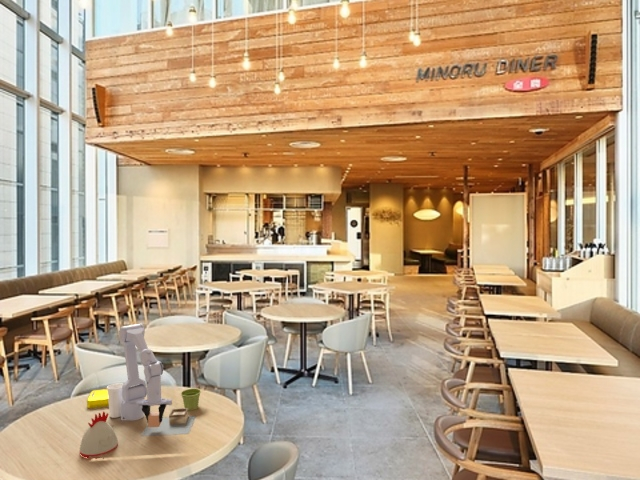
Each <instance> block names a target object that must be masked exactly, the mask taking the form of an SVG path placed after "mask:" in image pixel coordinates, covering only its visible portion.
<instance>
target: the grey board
mask: <svg viewBox="0 0 640 480" xmlns="http://www.w3.org/2000/svg"><path fill="white" fill-rule="evenodd" d="M196 417H197V416H196V415H188V418H187V421H186V423H182V424H169V416H167V417H165V416H163V418H162V422H161V424H160V426H159V427H148V424H147V425H146V427H145V429H144V430H143V431H142V433H141V435H140V437H153V436H171V435H173V436H174V435H175V436H176V435H189V434H190V433H191V429H192V427H193V424H194V422H195V420H196Z"/></svg>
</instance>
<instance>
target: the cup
mask: <svg viewBox="0 0 640 480" xmlns="http://www.w3.org/2000/svg"><path fill="white" fill-rule="evenodd" d="M123 385H124V383H122V382H116V383H112V384H109V385H107V386H106V389H107V391H108V401H109V406H108V410H109V411H108V412H109V413H108V414H109V417H110V418H112V419H113V418H114V419H115V418H116V419H117V418H119V417H120V418H121V404H122V402H123V401H124V400H123V398H122V386H123Z"/></svg>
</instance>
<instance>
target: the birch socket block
mask: <svg viewBox="0 0 640 480" xmlns="http://www.w3.org/2000/svg"><path fill="white" fill-rule="evenodd" d="M188 416H189V410H188V408H185V407H183V408H172V409H171V411H170V412H169V416H168V417H169V424H182V423H186V421H187V418H188Z"/></svg>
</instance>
